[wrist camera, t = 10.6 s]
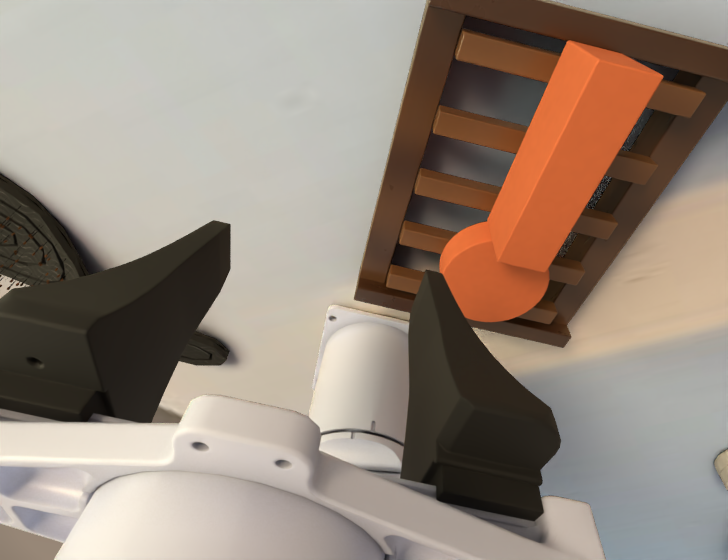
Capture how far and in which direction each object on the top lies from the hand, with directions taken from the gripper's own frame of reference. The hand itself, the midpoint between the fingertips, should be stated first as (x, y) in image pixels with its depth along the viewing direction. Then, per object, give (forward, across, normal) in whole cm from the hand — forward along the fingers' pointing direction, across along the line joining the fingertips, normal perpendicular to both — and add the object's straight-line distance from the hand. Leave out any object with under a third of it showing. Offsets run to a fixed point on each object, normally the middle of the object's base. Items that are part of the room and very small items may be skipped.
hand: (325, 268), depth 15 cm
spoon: (+7, -8, -1) cm, 10 cm away
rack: (+9, -8, -1) cm, 12 cm away
